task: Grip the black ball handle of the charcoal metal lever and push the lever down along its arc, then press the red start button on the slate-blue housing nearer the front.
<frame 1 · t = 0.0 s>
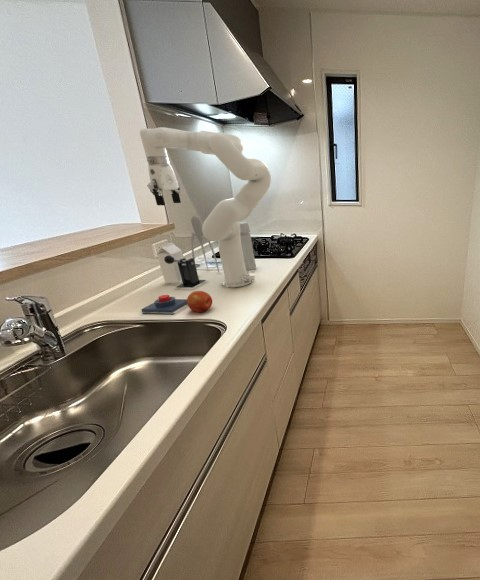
hand: (169, 204, 137), 37 cm above the worktop, tool pointing down, fingers open, 9 cm apart
button box: (167, 309, 121), on the worktop
bracket: (192, 285, 146), on the worktop
apple: (202, 311, 119), on the worktop
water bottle: (248, 269, 169), on the worktop
milk carton: (178, 282, 151), on the worktop
button: (164, 298, 120), point 5 cm above the worktop, slide at 0.1 cm
lever: (177, 261, 137), point 13 cm above the worktop, hinge at 25.0°
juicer: (211, 274, 163), on the worktop
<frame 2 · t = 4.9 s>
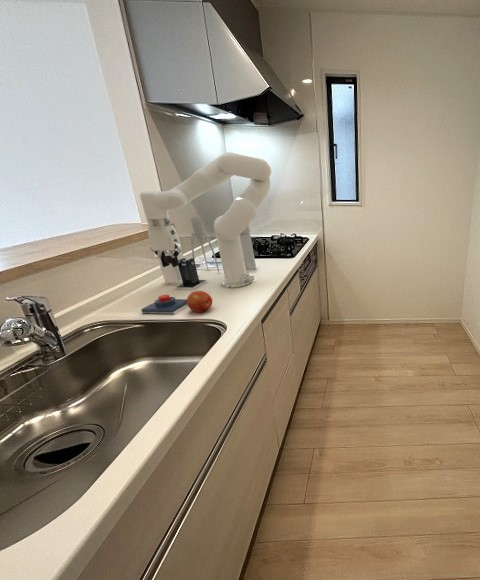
hand: (171, 265, 133), 12 cm above the worktop, tool pointing down, fingers closed on lever, 3 cm apart
lever: (177, 261, 137), point 13 cm above the worktop, hinge at 25.0°, touching gripper
everything else where it was.
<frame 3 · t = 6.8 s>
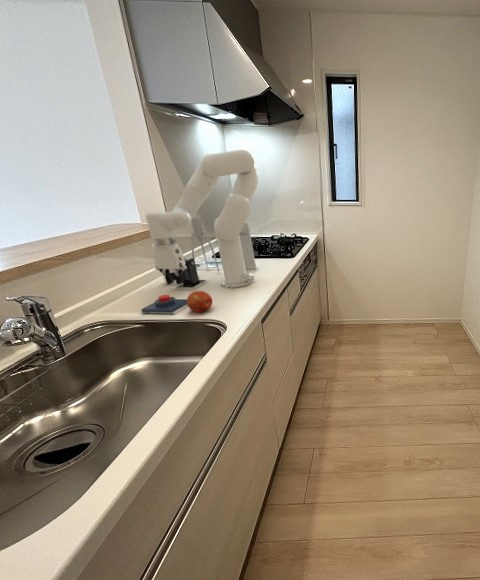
hand: (175, 283, 136), 5 cm above the worktop, tool pointing down, fingers closed on lever, 3 cm apart
lever: (179, 269, 138), point 9 cm above the worktop, hinge at -19.0°, touching gripper
everything else where it was.
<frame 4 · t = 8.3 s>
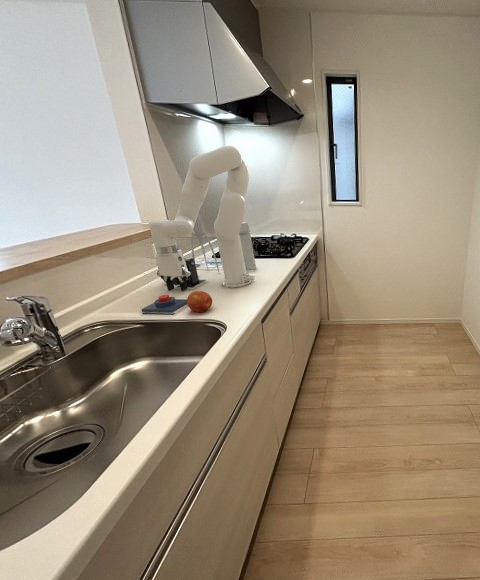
hand: (178, 289, 137), 2 cm above the worktop, tool pointing down, fingers open, 5 cm apart
lever: (181, 272, 139), point 8 cm above the worktop, hinge at -35.5°
everything else where it was.
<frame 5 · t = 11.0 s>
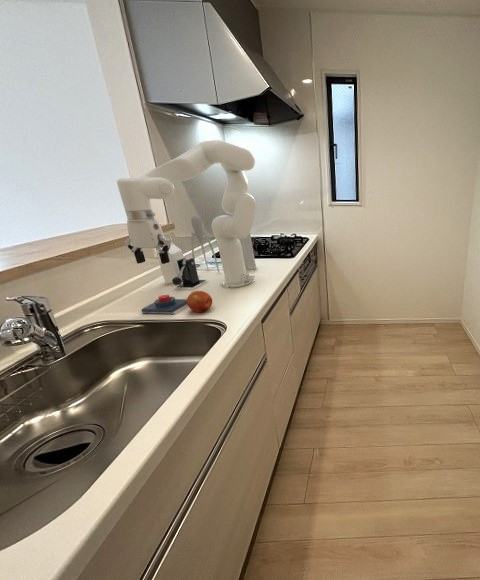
hand: (153, 262, 115), 19 cm above the worktop, tool pointing down, fingers open, 9 cm apart
nothing on the worktop moved.
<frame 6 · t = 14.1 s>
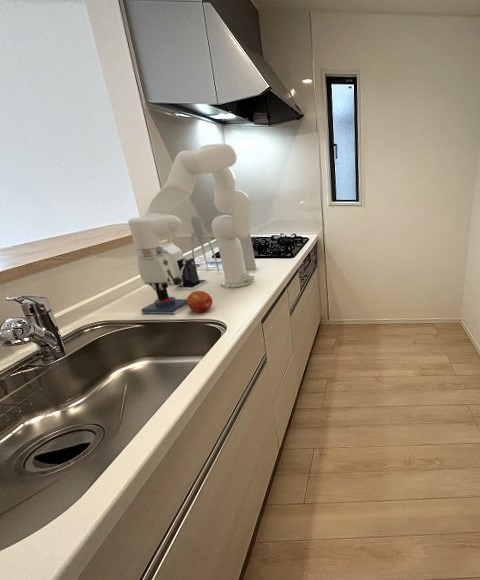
hand: (163, 298, 119), 4 cm above the worktop, tool pointing down, fingers closed
button: (165, 300, 120), point 4 cm above the worktop, slide at -0.8 cm, touching gripper
everything else where it was.
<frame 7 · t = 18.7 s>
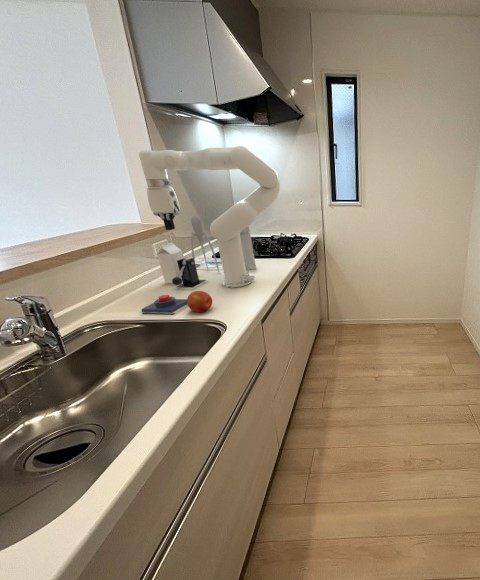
hand: (170, 229, 132), 27 cm above the worktop, tool pointing down, fingers closed
button: (164, 298, 120), point 5 cm above the worktop, slide at 0.1 cm
everything else where it was.
at the end: lever at -36° (first picture: +25°); button pushed in 1.1 cm at the most during the clip, back to where it started at the end; button slide at 0.1 cm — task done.
